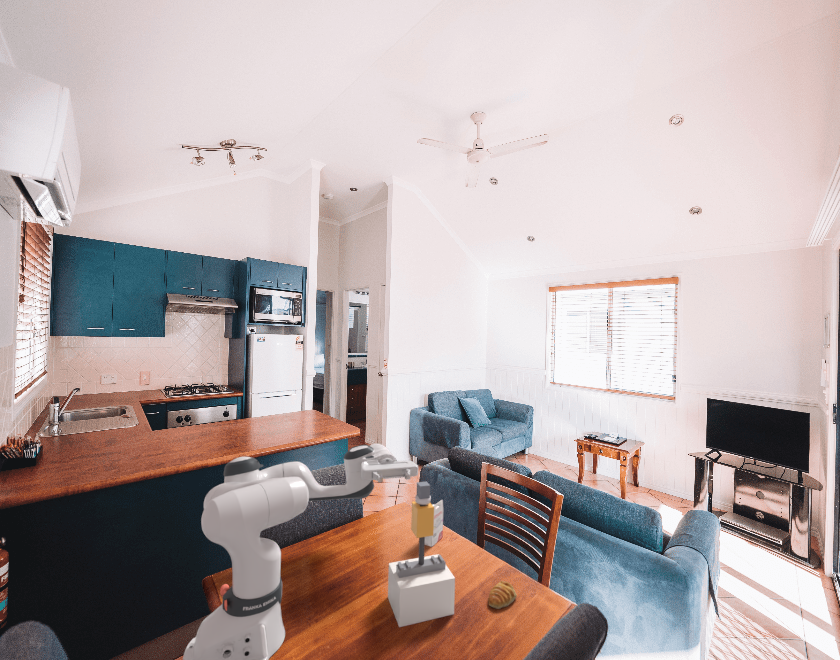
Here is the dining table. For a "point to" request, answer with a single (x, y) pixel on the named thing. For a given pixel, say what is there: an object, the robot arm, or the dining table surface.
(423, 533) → the sleeve
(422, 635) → the dining table surface
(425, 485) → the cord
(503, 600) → the pastry
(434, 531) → the ink cartridge box
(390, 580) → the comb base
